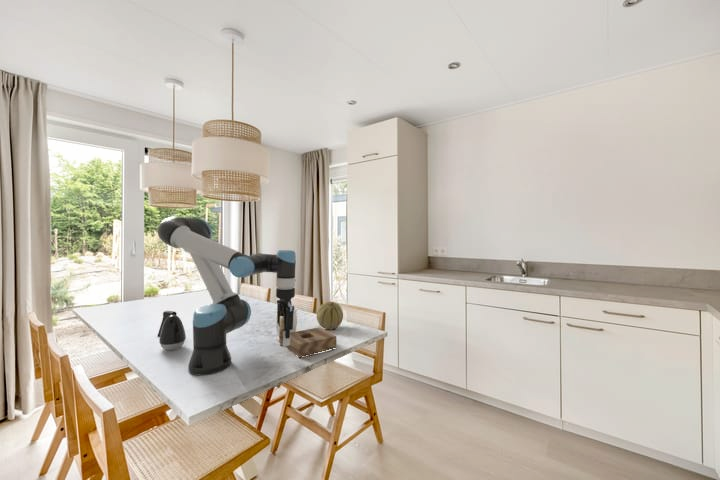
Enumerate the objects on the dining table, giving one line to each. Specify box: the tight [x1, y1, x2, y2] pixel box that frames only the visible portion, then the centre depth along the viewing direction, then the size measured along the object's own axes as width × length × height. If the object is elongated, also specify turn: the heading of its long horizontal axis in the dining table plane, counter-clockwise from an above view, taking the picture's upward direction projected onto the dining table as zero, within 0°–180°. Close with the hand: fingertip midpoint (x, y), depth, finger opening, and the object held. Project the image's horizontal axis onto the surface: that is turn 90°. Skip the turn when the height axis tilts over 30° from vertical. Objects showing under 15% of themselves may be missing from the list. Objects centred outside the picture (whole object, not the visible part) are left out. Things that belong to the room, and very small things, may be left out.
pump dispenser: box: [159, 315, 187, 352], centre depth 140 cm, size 10×10×15 cm
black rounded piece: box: [157, 310, 178, 338], centre depth 159 cm, size 9×6×12 cm, turn 159°
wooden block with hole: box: [285, 326, 337, 358], centre depth 141 cm, size 18×16×6 cm
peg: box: [278, 315, 286, 348], centre depth 128 cm, size 4×4×12 cm
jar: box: [274, 307, 298, 342], centre depth 152 cm, size 11×10×15 cm
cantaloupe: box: [316, 301, 344, 330], centre depth 169 cm, size 15×15×15 cm
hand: (284, 343), depth 128 cm, fingers closed on peg, 4 cm apart
